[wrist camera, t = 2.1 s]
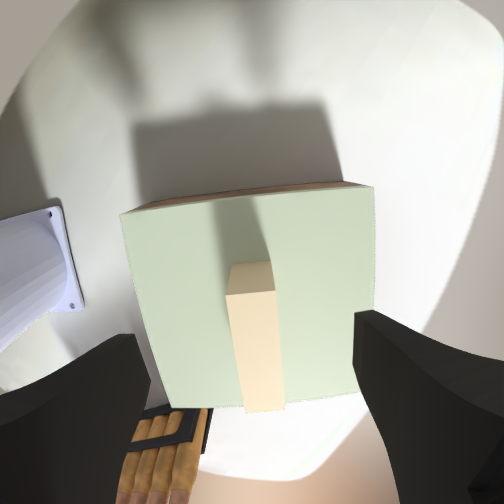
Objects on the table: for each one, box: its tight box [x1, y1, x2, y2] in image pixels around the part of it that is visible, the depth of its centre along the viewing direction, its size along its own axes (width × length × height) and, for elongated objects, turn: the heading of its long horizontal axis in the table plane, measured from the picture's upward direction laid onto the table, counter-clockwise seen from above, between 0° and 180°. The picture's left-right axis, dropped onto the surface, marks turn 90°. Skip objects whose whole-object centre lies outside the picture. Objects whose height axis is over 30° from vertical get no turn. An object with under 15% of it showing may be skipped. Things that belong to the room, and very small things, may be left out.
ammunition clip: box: [116, 403, 214, 504], centre depth 18 cm, size 11×2×12 cm, turn 117°
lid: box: [120, 186, 375, 413], centre depth 14 cm, size 12×12×5 cm
